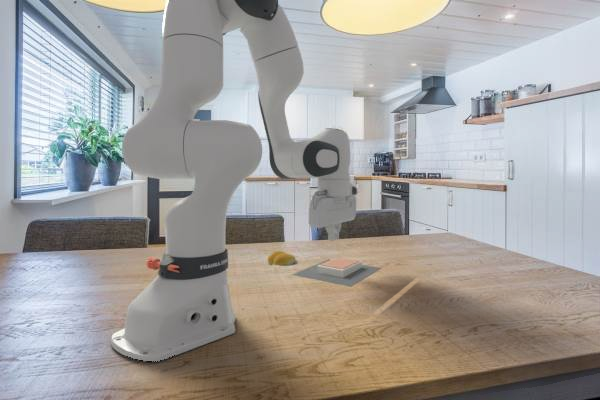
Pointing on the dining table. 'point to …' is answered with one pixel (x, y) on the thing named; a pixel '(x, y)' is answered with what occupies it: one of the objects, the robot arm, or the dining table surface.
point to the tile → (339, 267)
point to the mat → (346, 280)
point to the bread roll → (281, 258)
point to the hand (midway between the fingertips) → (333, 239)
